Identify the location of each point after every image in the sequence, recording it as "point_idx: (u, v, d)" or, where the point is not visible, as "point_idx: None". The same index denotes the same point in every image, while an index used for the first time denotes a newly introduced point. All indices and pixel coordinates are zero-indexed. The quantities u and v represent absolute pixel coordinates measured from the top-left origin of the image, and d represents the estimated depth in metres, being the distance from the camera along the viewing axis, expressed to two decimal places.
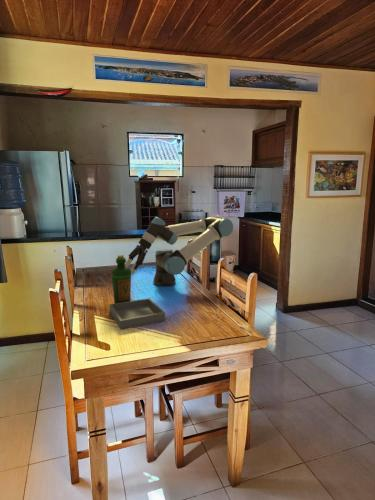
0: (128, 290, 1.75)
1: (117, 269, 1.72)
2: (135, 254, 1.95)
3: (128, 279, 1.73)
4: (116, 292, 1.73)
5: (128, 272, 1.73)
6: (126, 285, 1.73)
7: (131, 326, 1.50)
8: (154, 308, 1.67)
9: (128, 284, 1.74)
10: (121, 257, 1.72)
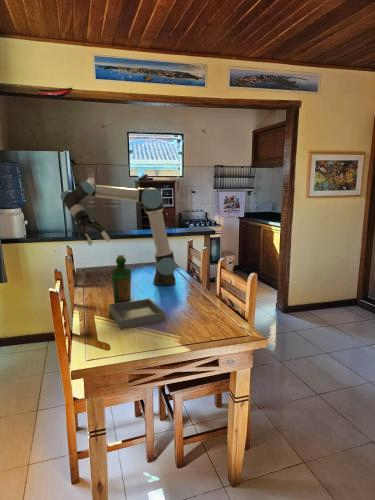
0: (128, 290, 1.75)
1: (117, 269, 1.72)
2: (95, 227, 1.84)
3: (128, 279, 1.73)
4: (116, 292, 1.73)
5: (128, 272, 1.73)
6: (126, 285, 1.73)
7: (131, 326, 1.50)
8: (154, 308, 1.67)
9: (128, 284, 1.74)
10: (121, 257, 1.72)
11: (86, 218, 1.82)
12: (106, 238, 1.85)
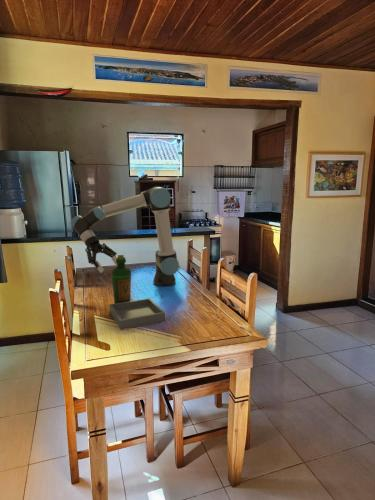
0: (128, 290, 1.75)
1: (117, 269, 1.72)
2: (105, 252, 1.83)
3: (128, 279, 1.73)
4: (116, 292, 1.73)
5: (128, 272, 1.73)
6: (126, 285, 1.73)
7: (131, 326, 1.50)
8: (154, 308, 1.67)
9: (128, 284, 1.74)
10: (121, 257, 1.72)
11: (97, 244, 1.81)
12: None
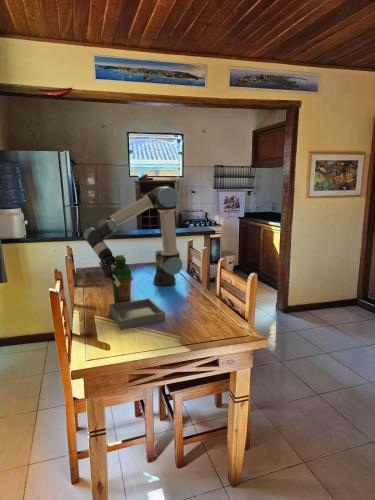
0: (128, 290, 1.75)
1: (117, 269, 1.72)
2: None
3: (128, 279, 1.73)
4: (116, 292, 1.73)
5: (128, 272, 1.73)
6: (126, 285, 1.73)
7: (131, 326, 1.50)
8: (154, 308, 1.67)
9: (128, 284, 1.74)
10: (121, 257, 1.72)
11: (110, 256, 1.79)
12: None
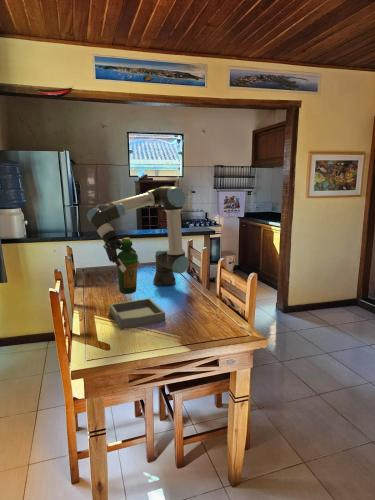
0: (134, 276, 1.60)
1: (123, 253, 1.57)
2: None
3: (134, 264, 1.58)
4: (121, 278, 1.58)
5: (135, 256, 1.58)
6: (132, 271, 1.58)
7: (131, 326, 1.50)
8: (154, 308, 1.67)
9: (134, 270, 1.59)
10: (127, 240, 1.57)
11: (115, 239, 1.64)
12: None
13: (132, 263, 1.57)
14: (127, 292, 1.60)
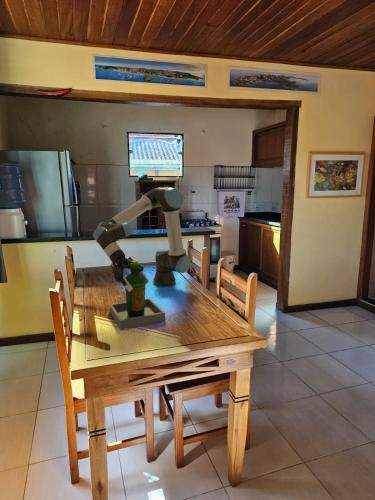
0: (143, 299, 1.58)
1: (131, 276, 1.55)
2: None
3: (143, 287, 1.56)
4: (129, 302, 1.56)
5: (143, 279, 1.56)
6: (140, 294, 1.56)
7: (131, 326, 1.50)
8: (154, 308, 1.67)
9: (143, 293, 1.57)
10: (135, 263, 1.55)
11: (122, 258, 1.61)
12: None
13: (140, 286, 1.55)
14: (136, 315, 1.58)
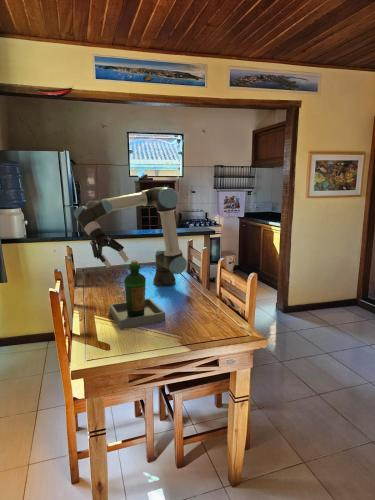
0: (142, 299, 1.58)
1: (131, 276, 1.55)
2: (112, 246, 1.67)
3: (143, 287, 1.56)
4: (129, 302, 1.56)
5: (143, 279, 1.56)
6: (140, 294, 1.56)
7: (131, 326, 1.50)
8: (154, 308, 1.67)
9: (143, 293, 1.57)
10: (135, 263, 1.55)
11: (102, 237, 1.65)
12: (124, 258, 1.68)
13: (140, 286, 1.55)
14: (135, 315, 1.58)
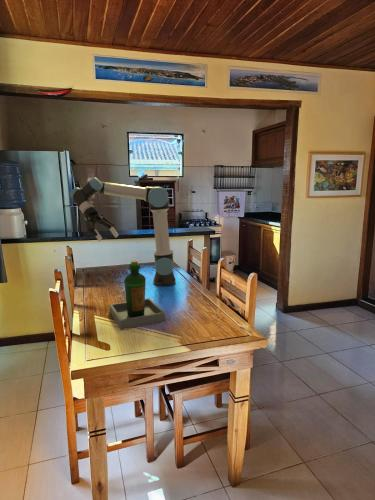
0: (142, 299, 1.58)
1: (131, 276, 1.55)
2: (103, 223, 1.88)
3: (143, 287, 1.56)
4: (129, 302, 1.56)
5: (143, 279, 1.56)
6: (140, 294, 1.56)
7: (131, 326, 1.50)
8: (154, 308, 1.67)
9: (143, 293, 1.57)
10: (135, 263, 1.55)
11: (95, 215, 1.86)
12: (115, 234, 1.89)
13: (140, 286, 1.55)
14: (135, 315, 1.58)
